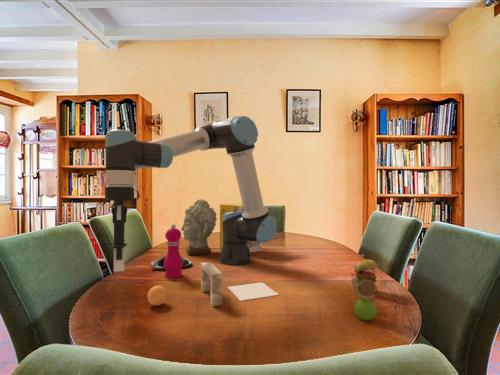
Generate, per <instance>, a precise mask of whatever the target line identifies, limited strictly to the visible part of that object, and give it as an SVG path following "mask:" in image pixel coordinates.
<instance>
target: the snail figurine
mask: <svg viewBox="0 0 500 375" xmlns="http://www.w3.org/2000/svg"><path fill="white" fill-rule="evenodd" d="M351 283H352V289H353V292H354V294H355V296H356V297H357V298H359V299H357V300H356V301H355V303H354V307H353V308H354V312H355V315H356V316H357V317H358V318H359V319H361V320H362V321H371V320H373V319H375V317H376V315H377V311H378V310H377V306H376V304H375V303H374V301H373V300H371V299H373V298H375V293H376V292H375V285H374V283H373V282H372V281H371V280H367V279H365V280H362V281H361V282H360V283H359V284H358V287H357V279H356V277H355V274H354V273H351ZM374 292H375V293H374Z"/></svg>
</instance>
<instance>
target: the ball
mask: <svg viewBox="0 0 500 375" xmlns="http://www.w3.org/2000/svg"><path fill="white" fill-rule="evenodd" d="M167 299H168V290H167V289H166V288H165V287H164V286H162V285H155V286H153V287H151V288H150V290H149V291H148V292H147V301H148V302H149V304H151V305H152V306H155V307H156V306H158V307H159V306H161V305H163V304H164V303H165V302H166V300H167Z"/></svg>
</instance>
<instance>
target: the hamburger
mask: <svg viewBox="0 0 500 375" xmlns="http://www.w3.org/2000/svg"><path fill="white" fill-rule="evenodd" d="M364 256H365V255H364V254H362V253H360V257H361V259H362V260H360V261H358V262H357V263H356V264H355V265H354V267H353V268H354V269H353V270H354V271H353V272H354V273H355V274H354V276H355V278H356V279H357V287H358V284H359V283H360V282H361V281H362V280H365V279H367V280H371V281H372V282H373V283H374V285H375V292H374V293H373V294H375V293H376V291H378V285H377V284H376V283H377V278H378V275H376V274H375V272H376V268H379V265H378V263H377V262H376V261H375V260H373V259H363V257H364Z"/></svg>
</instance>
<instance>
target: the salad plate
mask: <svg viewBox="0 0 500 375" xmlns="http://www.w3.org/2000/svg"><path fill="white" fill-rule="evenodd" d="M166 256H167V254H166V255H164V256H162V257H161V258H159V259H156V260H153V261H151V262H150V263H151V266H150V268H151V269H154V270H155V271H158V272H159V271H161V272H163V271H164V272H166V271H167V270H166V269H165V268H164V261H165V259H166ZM181 258H182V261H183V266H182V268H181V269H180V270H183V269H188V268H190V267H191V266H192V265H193V262H192V261H191V260H189V258H187V257H181Z"/></svg>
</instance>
